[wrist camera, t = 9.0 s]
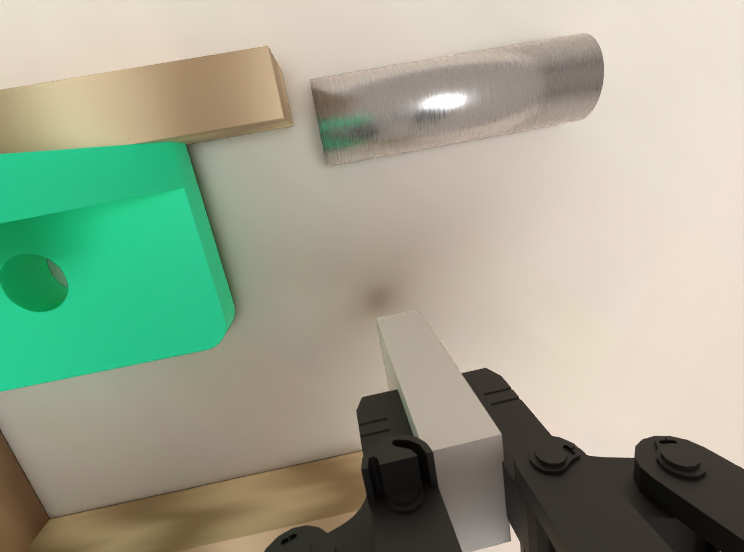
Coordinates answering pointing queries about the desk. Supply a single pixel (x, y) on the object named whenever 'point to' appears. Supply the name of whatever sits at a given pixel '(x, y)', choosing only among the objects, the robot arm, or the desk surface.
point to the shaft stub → (457, 97)
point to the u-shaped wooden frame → (186, 125)
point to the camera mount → (105, 262)
